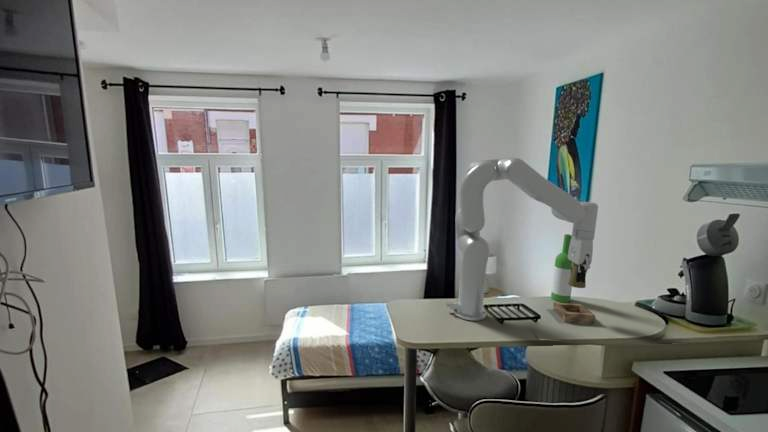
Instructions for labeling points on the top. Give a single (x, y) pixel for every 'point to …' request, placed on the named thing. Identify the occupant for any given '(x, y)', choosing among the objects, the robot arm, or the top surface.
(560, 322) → the mat
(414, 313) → the top surface
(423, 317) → the top surface
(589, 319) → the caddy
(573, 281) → the cork
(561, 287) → the wine bottle
